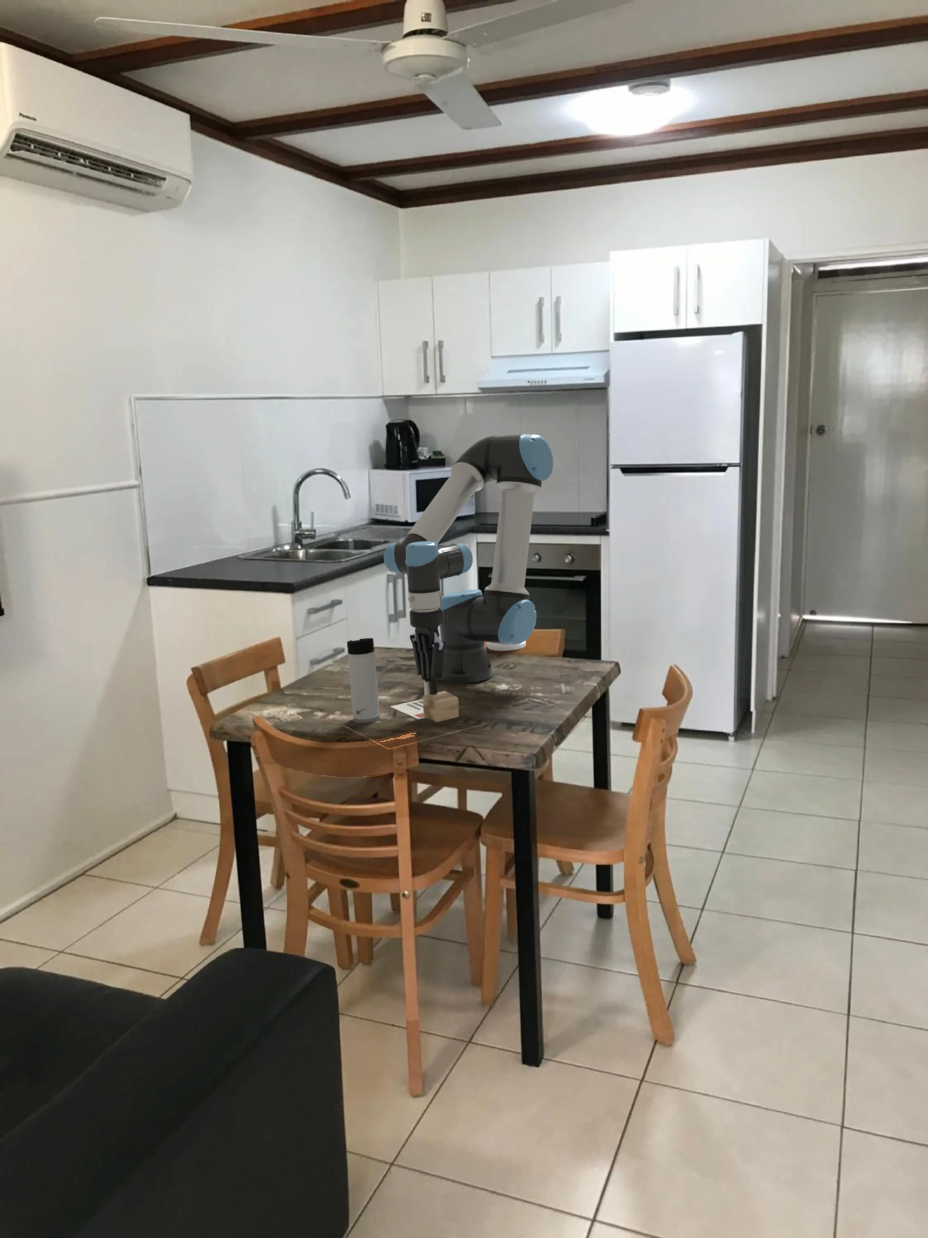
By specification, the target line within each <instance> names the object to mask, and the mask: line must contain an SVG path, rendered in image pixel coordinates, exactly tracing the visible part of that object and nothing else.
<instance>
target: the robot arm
mask: <svg viewBox="0 0 928 1238" xmlns="http://www.w3.org/2000/svg"><path fill="white" fill-rule="evenodd" d="M552 452H553V451H552V450H551V448H550V445H549V443H548V442H547V440H546V439H544V437H543V436H541V435H538V434H528V433H523V434H511V435H510V434H509V435H489V436H487V437H484V438H482V439H480V440H478V441H476V442H474V443H473V444H472V445H471V446H470V447H468V449H466V450H465V451H464V452H463V453H462V454H461V455H460V456H459V458H458V459H457V460H455V462H454V463H453V465H452V466H451V469H450V476H448V479H447V480H445V482H444V484H443V485H442V487H441V488H440V489H439V490H438V492H437V494H436V495H435V496H434V498H433V499H432V500H431V502H430V503H429V504H428V506H427V507H426V508H425V510H424V511H423V513H422V514H421V515H420V516H419V518H418V519H417V520H416V522H415V523H414V525H413V526H412V527H411V529H410V530H409V532H408V533H407V534H406V536H405V537H404V539H403V540H402V541H401V542H400V541H399V542H393V543H390V544H388V546H387V547H386V548H385V550H384V553H383V561H384V565H385V567H386V569H387V570H388V571H389V572H390V573H395V574H399V575H400V574H401V575H406V576H407V590H408V591H407V592H408V597H407V601H408V605H409V608H410V611H409V623H410V627H412V628H414V633H413V634H409V639H410V642H411V645H412V650H413V656H414V661H415V667H416V673H417V675H418V676H420V677H421V679H422V680H423V690H424V693H423V694H424V695H429V694H432V695H433V694H437V692H438V681H441V682H444V683H449V684H471V683H478V682H482V681H483V682H484V681H486V680H489V679H490V678H492V677H493V675H494V673H493V672H494V671H493V668H494V667H493V665H492V662H491V660H490V657H489V655H488V653H487V648H486V645H485V643H488V642H492V643H501V644H505V645H509V644H515V645H516V644H521V643H523V642H525V641H526V642H527V640H528V639H529V638H530V637H531V635H532V633H533V632H534V629H535V626H536V623H537V611H536V606H535V604H534V603H533V602H532V601H531V600H530V593H529V591H528V590H527V589H526V588H525V585H526V584H525V583H526V573H527V567H528V557H529V556H528V555H529V550H530V549H529V547H530V537H531V530H532V529H531V528H532V519H533V512H534V503H535V496H536V494H537V493H539V492H540V491H541V490H542V482H544V481H546V480H548V479H549V478H550V476H551V475H552V472H553V469H554V458H553V453H552ZM493 481H496V487H497V488H498V489H499V490H500V492H501V495H500V502H499V509H498V510H499V511H498V512H499V513H498V522H497V530H496V539H495V548H494V555H493V557H494V559H493V565H492V574H491V583H490V584H489V585H487V586H486V587H487V588H486V587H485V588H484V592H483V593H482V590H481V589H467V590H460V591H455V592H449V593H446V594H444V595H442V593H441V591H442V590H441V580H444V579H447V578H452V577H456V576H457V577H459V576H460V575H462V574H463V575H464V574H465V573H467V572H468V571H470V569H471V568H472V566H473V562H474V561H473V560H474V558H473V554H472V553H473V552H472V551H471V549H470V548H469V546H467V545H466V544H465V543H460V542H458V543H450V544H439V542H440V541H441V540H442V539H443V536H445V534H446V533H447V531H448V530H449V528H450V527H451V526H452V524H454V522H455V520H456V519H457V517H458V516H459V515H460V513H461V512H462V511H463V509H464V508H465V506H466V504H467V503H468V502H469V500H470V499H471V498H472V496H473V495H474V494H475V492H478V491H481V490H482V489H483V488H484V486H485V485H486V484H488V483H489V482H493ZM424 695H423V696H424Z"/></svg>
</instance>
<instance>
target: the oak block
mask: <svg viewBox="0 0 928 1238" xmlns="http://www.w3.org/2000/svg"><path fill="white" fill-rule="evenodd" d="M422 699H423V712H424V716H425V717H426V718H427V719H429V720H431V721H432V722H435V723H439V722H443V721H447V720H452V719H455V718H456V719H457V718H459V716H460V715H459V714H460V712H459V711H460V710H459V697H457V696H456V695H454V694H453V693H450V692H448V691H446V690H443V691H437V694H433V695H432V694H429V695H422ZM426 718H425V719H426Z"/></svg>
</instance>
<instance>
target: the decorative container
mask: <svg viewBox="0 0 928 1238" xmlns="http://www.w3.org/2000/svg"><path fill="white" fill-rule="evenodd" d="M487 587H488V586H486V587H485V589H486V588H487ZM486 643H487V649H489V650H492V651H496V652H497V651H499V652H502V651H503V652H507V651H508V652H509V651H515V650H516V651H517V650H521V649H524V648H525V647H526V646H527V640H526V641H525V642H523V643H521V644H516V645H515V644H509V645H505V644H501V643H492V642H486Z"/></svg>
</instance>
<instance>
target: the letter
mask: <svg viewBox="0 0 928 1238" xmlns="http://www.w3.org/2000/svg"><path fill="white" fill-rule="evenodd" d="M390 708H392V709H395V710H396V711H399V712H402V713H404V714H406V715H408V716H411V717H412V718H415V719H417V720H423V719H426V717H425V716H424V712H423V698H421V699H416V700H412V701H408V702H404V703H399V704H395V705H391V706H390Z"/></svg>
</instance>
